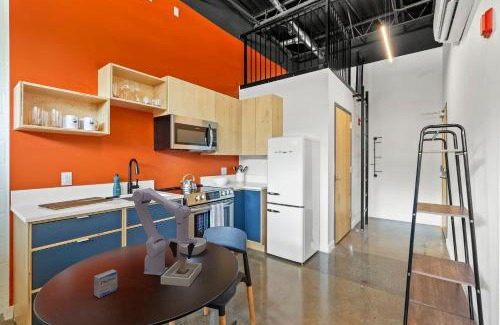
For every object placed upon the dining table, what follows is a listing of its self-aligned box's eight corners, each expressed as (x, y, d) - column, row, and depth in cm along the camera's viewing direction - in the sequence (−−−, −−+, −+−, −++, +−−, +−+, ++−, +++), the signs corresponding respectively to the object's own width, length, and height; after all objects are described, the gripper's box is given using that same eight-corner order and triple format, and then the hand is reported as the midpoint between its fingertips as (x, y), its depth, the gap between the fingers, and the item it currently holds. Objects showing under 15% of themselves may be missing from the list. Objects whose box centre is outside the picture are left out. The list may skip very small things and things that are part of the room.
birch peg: (176, 276, 120) (176, 260, 120) (180, 273, 124) (180, 257, 124) (184, 277, 120) (184, 261, 119) (187, 273, 124) (187, 258, 123)
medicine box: (99, 298, 102) (99, 278, 102) (93, 295, 105) (93, 275, 105) (117, 290, 109) (117, 271, 109) (112, 287, 111) (112, 268, 111)
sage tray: (160, 284, 114) (160, 276, 114) (176, 267, 131) (176, 261, 131) (189, 286, 112) (189, 279, 112) (201, 269, 129) (201, 263, 129)
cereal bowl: (186, 247, 161) (186, 236, 161) (210, 249, 158) (210, 238, 158) (173, 257, 145) (173, 245, 145) (199, 260, 141) (199, 248, 141)
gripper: (164, 232, 118) (164, 259, 119) (193, 234, 116) (193, 262, 117) (171, 228, 125) (171, 254, 126) (198, 229, 123) (198, 256, 124)
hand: (182, 257), depth 122 cm, fingers open, 7 cm apart
